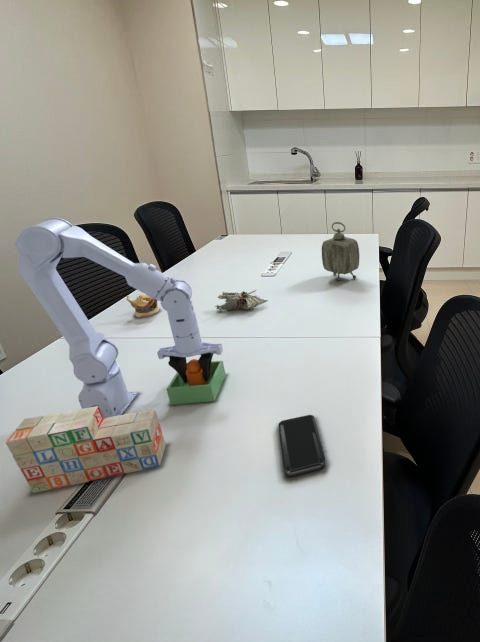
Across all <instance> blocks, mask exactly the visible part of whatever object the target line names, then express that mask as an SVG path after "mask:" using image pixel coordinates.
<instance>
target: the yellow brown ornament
mask: <svg viewBox="0 0 480 642" xmlns="http://www.w3.org/2000/svg"><path fill="white" fill-rule="evenodd" d="M126 301H128V302H129V304H130V305H131V307H132V308H133V309H134V316H135V318H138V319H139V318H149V317H151V316H153V315H156V314H157V313H159V312H160V309H159V307H158V300H156V299H154V298H152V297H150V296H148V295H146V294H144V293H142V294H139V295H138V296H137V297H136V299H132V298H131V297H130V296H129V295H126ZM152 309H153V310H152ZM146 310H151V311H148V312H143V313H142V311H146Z"/></svg>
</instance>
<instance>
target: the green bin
mask: <svg viewBox="0 0 480 642" xmlns="http://www.w3.org/2000/svg"><path fill="white" fill-rule="evenodd" d="M225 369H226V368H225V365H224V361H223V360H212V361H211V366H210V378H209V380H208V385H195V386H189V384H188V382H187V383H184V381H183V379H182V378H181V376H180V375H179V374H178V373H177V372H176V373H175V374H174V376H173V378H172V379H171V381H170V382H169V384H168V386H167V387H166V393H167V396H168V401H169V403H170V406H172V405H173V406H174V405H184V404H197V403H209V402H210V403H211V402H215V401H216V399H217V396H218V394H219V392H220V390H221V387H222V385H223V383H224V381H225V378H226V375H227V374H226V370H225Z"/></svg>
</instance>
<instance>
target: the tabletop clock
mask: <svg viewBox="0 0 480 642" xmlns="http://www.w3.org/2000/svg"><path fill="white" fill-rule="evenodd" d="M336 224H337V225H341V226H342V227H343V228H344V229H343V230H341V229H340V228H337V229H335V228H334V225H336ZM331 229H332V230H333V232H335V233H334V234H333V236H332V238H328V239H326V240H323V241H322V245H321V261H322V266H323V269H324V270H325V271H327V272H330V273H332V274H333V275H334V276H337V277H336V281H340V280H341V277H340V275H347V274H350V275H351V276H352V279H353V280H355V279H357V275H355V274H354V273H353V272H354V271H356V270H358V269H359V266H360V248H359V243H358V241H357V240H356V239H354V238H352V237H348V236H345V234H344V232H345V231H346V225H345V224H343V223H342V222H340V221H335V222H333V223H332V224H331Z"/></svg>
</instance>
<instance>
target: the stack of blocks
mask: <svg viewBox="0 0 480 642" xmlns="http://www.w3.org/2000/svg"><path fill="white" fill-rule="evenodd" d="M5 445H6V446H7V448H8V450H9V451H10V453H11V455H12V458H13V459H14V462H15V463H16V465H17V467H18V468H19V469H20V472H21V473H22V475H23V477H24V479H25V480H26V483H27V485H28V487H29V488H30V490H31V491H32V493H35V494H36V493H41V492H45V491H49V490H56V489H61V488H65V487H70V486H74V485H80V484H85V483H88V482H91V481H96V480H100V479H105V478H109V477H113V476H118V475H123V474H129V473H134V472H138V471H142V470H149V469H153V468H158V467H160V466H161V463H162V460H163V456H164V454H165V450H166V441H165V437H164V435H163V431H162V427H161V425H160V423H159V417H158V414H157V411H156V409H155V408H153V409H147V410H143V411H139V412H138V411H135V412H131V413H125V414H124V413H123V414H122V415H118V416H113V417H108V418H105V419H103V415H102V413H101V410H100V408H99V406H95V407H90V408H84V409H82V408H80V409H73V410H67V411H63V412H57V413H51V414H46V415H39V416H33V417H28V418H24V419H23V420H22V421H21V422H20V424H19V425H18V426H17V427H16V429H15V430H14V431H13V432H12V433H11V435H10V436H9V437H8V439H7V440H6V442H5Z"/></svg>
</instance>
